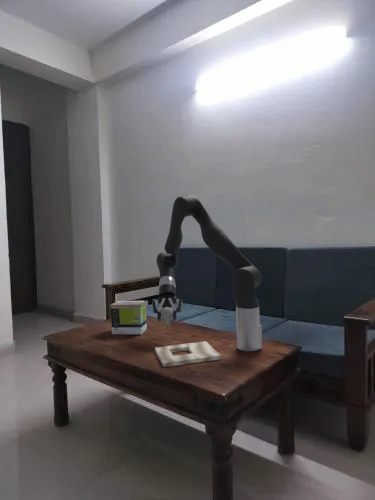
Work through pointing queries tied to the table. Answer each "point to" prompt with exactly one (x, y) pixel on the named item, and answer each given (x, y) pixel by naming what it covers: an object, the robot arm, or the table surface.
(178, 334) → the table surface
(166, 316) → the light bulb
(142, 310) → the tea box
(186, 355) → the cream board with hole
